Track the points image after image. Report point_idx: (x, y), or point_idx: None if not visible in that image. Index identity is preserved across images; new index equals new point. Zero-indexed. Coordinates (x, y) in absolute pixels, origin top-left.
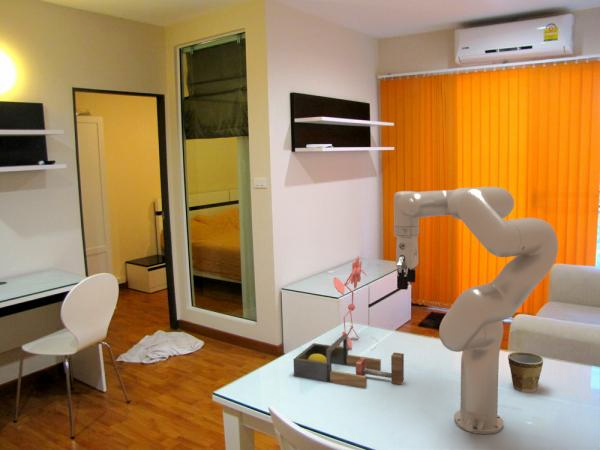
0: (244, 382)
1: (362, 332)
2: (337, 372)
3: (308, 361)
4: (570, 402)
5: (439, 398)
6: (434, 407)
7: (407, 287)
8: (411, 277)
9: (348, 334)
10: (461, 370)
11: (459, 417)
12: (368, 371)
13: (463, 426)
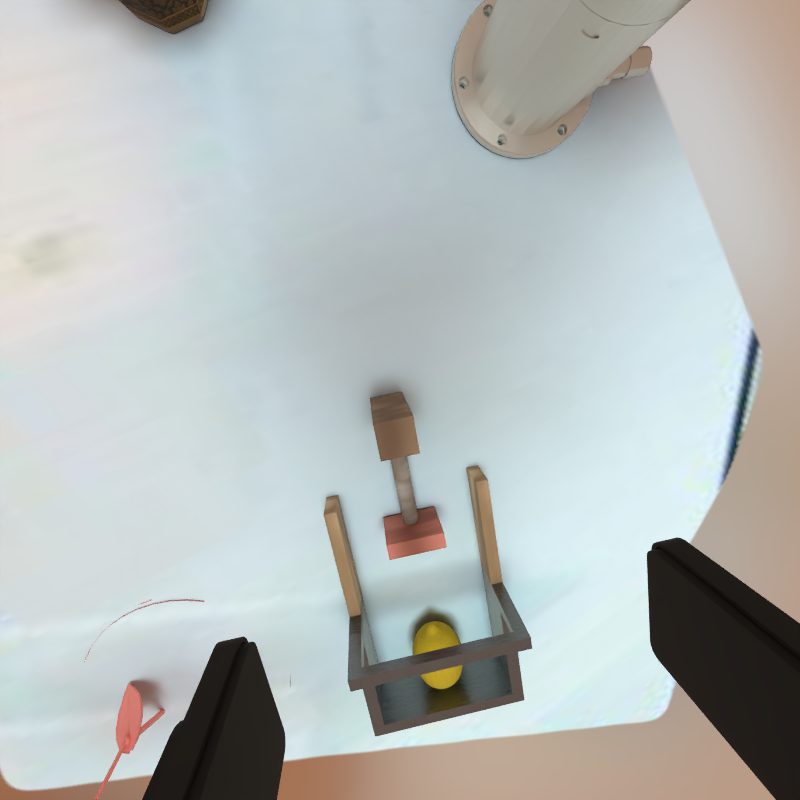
0: (593, 714)
1: (60, 707)
2: (495, 563)
3: (518, 659)
4: None
5: (425, 249)
6: (490, 240)
7: (695, 548)
8: (247, 741)
9: (150, 720)
10: (664, 22)
11: (547, 132)
12: (413, 503)
13: (589, 105)
